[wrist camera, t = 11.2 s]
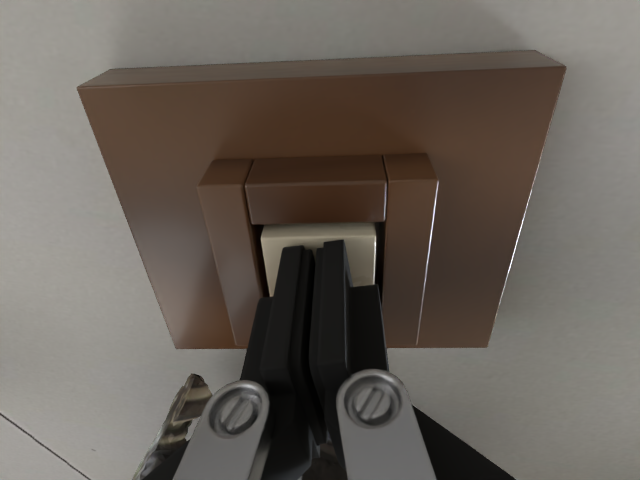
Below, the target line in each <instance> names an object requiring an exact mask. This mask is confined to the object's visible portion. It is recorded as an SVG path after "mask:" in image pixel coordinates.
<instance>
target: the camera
mask: <svg viewBox="0 0 640 480" xmlns="http://www.w3.org/2000/svg"><path fill="white" fill-rule="evenodd" d="M212 396H213V395H212V394H211V392H210V390H209V389H208V385H207V384H206V383H204V379H203V378H202V377H201V376H199V375H196V374H191V375H190V376H189V377H188V379H187V381H186V383H185V385H184V386H182V387H181V389H180V390H179V392H178V393H177V394H176V396H175V398H174V400H173V402H172V404H171V407H170V411H169V413H168V416H167V418H166V420H165V422H164V423H163V425H162V427H161V429H160V431H159V433H158V435H157V436H156V438H155V440H154V441H153V443H152V444H151V446H150V448H149V449H148V451H147V452H146V454H145V456H144V458H143V459H142V461H141V463H140V465H139V466H138V468H137V470H136V472H135V474H134V476H133V479H132V480H142V479H143V478H144V477H146V476H147V475H148V474H149V473H150V472H151V471H153V470H154V469H155V468H156V467H157V466H159V465H160V464H161V463H162V462H163V461H165V460H166V459H167V458H168V457H169V456H170V455H172V454H173V453H174V452H175V451H176V450H178V449H179V448H180V447H181V446H182V445H184V444H185V443H186V442H187V441H186V439H185V436H186V434H187V433H188V426H190V425H191V423H192V420H193V419H196V418H198V417H200V416H201V414H202V412H203V410H204V408H205V406H206V404H207V403H208V401H209V399H210V398H211V397H212ZM302 480H348V477H347V471H346V470H345V469H344V468H343V467H342V466H341V465H340V464H339V463H338V459H337V456H336V453H335V450H334V447H333V444H332V441H331V438H330V435H329V432H328V441H327V444H320V458H313V459H311V466H310V467H309V468H308V469H307V470H306V471H305V472H304V473H303V475H302Z"/></svg>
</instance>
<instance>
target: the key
mask: <svg viewBox="0 0 640 480" xmlns="http://www.w3.org/2000/svg"><path fill="white" fill-rule="evenodd" d="M343 239H344V241H345V246H346V251H347V256H348V261H349V266H350V272H351V277H352V282H353V287H357V286H366V285H375V259H376V230H375V223H374V222H357V223H312V224H267V225H264V228H263V232H262V235H261V244H262V250H263V257H264V263H265V269H266V275H267V281H268V287H269V294H270V297H271V296H273V295H274V290H275V284H276V279H277V274H278V269H279V263H280V258H281V253H282V249H283V248H284V247H290V246H298V245H304V247H305V250H308V249H311V250H312V252H313V256H314V260H315V263H316V250H317V248H323V244H324V242H328V241H335V240H343Z"/></svg>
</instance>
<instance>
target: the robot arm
mask: <svg viewBox="0 0 640 480" xmlns="http://www.w3.org/2000/svg"><path fill="white" fill-rule="evenodd" d="M328 432H329V435H330V438H331V441H332V444H333V447H334V450H335V453H336V456H337V459H338V463H339V464H340V465H341V466H342V467H343V468H344V469H345V470H346V471H347V477H348V480H516V479H515V478H514V477H512V476H511V475H509V474H508V473H507V472H505V471H504V470H502V469H501V468H500V467H498V466H497V465H495V464H494V463H493V462H491V461H490V460H489V459H487V458H486V457H484V456H483V455H482V454H480V453H479V452H477V451H476V450H475V449H473V448H472V447H470V446H469V445H468V444H466V443H465V442H463V441H462V440H461V439H459V438H458V437H456V436H455V435H454V434H452V433H451V432H449V431H448V430H447V429H445V428H444V427H442V426H441V425H440V424H438V423H437V422H435V421H434V420H433V419H431V418H430V417H428V416H427V415H426V414H424V413H423V412H421V411H420V410H419V409H417V408H416V407H414V406H413V405H412V404H411V401H410V398H409V395H408V392H407V390H406V388H405V386H404V384H403V382H401V381H400V380H399V379H398V378H397V377H396V376H395V375H393V374H391V373H389V365H388V357H387V348H386V340H385V332H384V324H383V316H382V309H381V302H380V295H379V288H378V284H375V285H366V286H357V287H353V282H352V277H351V272H350V266H349V261H348V256H347V251H346V246H345V241H344V239H343V240H335V241H328V242H324V244H323V248H317V250H316V263H315V260H314V256H313V252H312V250H311V249H308V250H305V247H304V245H298V246H290V247H284V248H283V249H282V253H281V258H280V263H279V269H278V274H277V279H276V284H275V290H274V295H273V296H271V297H263V298H260V299H259V301H258V304H257V309H256V313H255V317H254V322H253V326H252V330H251V335H250V339H249V343H248V348H247V352H246V356H245V361H244V365H243V369H242V374H241V378H240V381H235V382H233V383H230V384H227V385H226V386H224V387H222V388H221V389H219V390H218V391H217V392H216V393H215V394H214V395H213V396H212V397H211V398H210V399H209V401H208V403H207V404H206V406H205V408H204V410H203V412H202V414H201V417H200V419H199V421H198V423H197V426H196V428H195V430H194V432H193V435H192V437H191V439H190V440H188V441H187V442H186V443H185V444H184V445H182V446H181V447H180V448H179V449H178V450H176V451H175V452H174V453H173V454H172V455H170V456H169V457H168V458H167V459H166V460H165V461H163V462H162V463H161V464H160V465H159V466H157V467H156V468H155V469H154V470H153V471H151V472H150V473H149V474H148V475H147V476H146V477H144V478H143V479H142V480H302V475H303V473H304V472H305V471H306V470H307V469H308V468H309V467H310V466H311V459H313V458H320V444H327V441H328Z"/></svg>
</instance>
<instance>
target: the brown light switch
mask: <svg viewBox="0 0 640 480" xmlns="http://www.w3.org/2000/svg"><path fill="white" fill-rule="evenodd" d="M565 72H566V66H565V65H563V64H561V63H559V62H557V61H555V60H553V59H551V58H549V57H547V56H545V55H544V54H542V53H540V52H538V51H536V50H527V51H505V52H482V53H460V54H438V55H415V56H393V57H371V58H348V59H326V60H304V61H281V62H259V63H237V64H214V65H192V66H169V67H147V68H125V69H110V70H108V71H106V72H104V73H102V74H100V75H98V76H97V77H95V78H93V79H91V80H89V81H87V82H85V83H83V84H82V85H80V86H78V87H77V91H78V93H79V96H80V98H81V101H82V104H83V106H84V109H85V112H86V114H87V117H88V119H89V122H90V125H91V127H92V130H93V133H94V135H95V138H96V140H97V143H98V146H99V148H100V151H101V154H102V156H103V159H104V161H105V164H106V167H107V169H108V172H109V175H110V177H111V180H112V182H113V185H114V188H115V190H116V193H117V196H118V198H119V201H120V203H121V206H122V209H123V211H124V214H125V217H126V219H127V222H128V224H129V227H130V230H131V232H132V235H133V238H134V240H135V243H136V245H137V248H138V251H139V253H140V256H141V259H142V261H143V264H144V266H145V269H146V272H147V274H148V277H149V280H150V282H151V285H152V287H153V290H154V293H155V295H156V298H157V301H158V303H159V306H160V308H161V311H162V314H163V316H164V319H165V322H166V324H167V327H168V329H169V332H170V335H171V337H172V340H173V343H174V345H175V348H176V349H247V348H248V343H249V339H250V335H251V330H252V326H253V322H254V317H255V313H256V309H257V304H258V301H259V299H260V298H263V297H270V294H269V287H268V281H267V275H266V269H265V263H264V257H263V250H262V244H261V235H262V232H263V228H264V225H267V224H312V223H357V222H374V223H375V230H376V259H375V284H378V288H379V295H380V302H381V309H382V316H383V324H384V332H385V340H386V348H487V347H488V344H489V341H490V337H491V334H492V330H493V327H494V323H495V320H496V316H497V313H498V309H499V305H500V302H501V298H502V295H503V291H504V288H505V284H506V281H507V277H508V274H509V270H510V267H511V263H512V259H513V256H514V252H515V249H516V245H517V242H518V238H519V235H520V231H521V228H522V224H523V220H524V217H525V213H526V210H527V206H528V203H529V199H530V196H531V192H532V189H533V185H534V181H535V178H536V174H537V171H538V167H539V164H540V160H541V157H542V153H543V150H544V146H545V142H546V139H547V135H548V132H549V128H550V125H551V121H552V118H553V114H554V111H555V107H556V104H557V100H558V96H559V93H560V89H561V86H562V82H563V79H564V75H565Z"/></svg>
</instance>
